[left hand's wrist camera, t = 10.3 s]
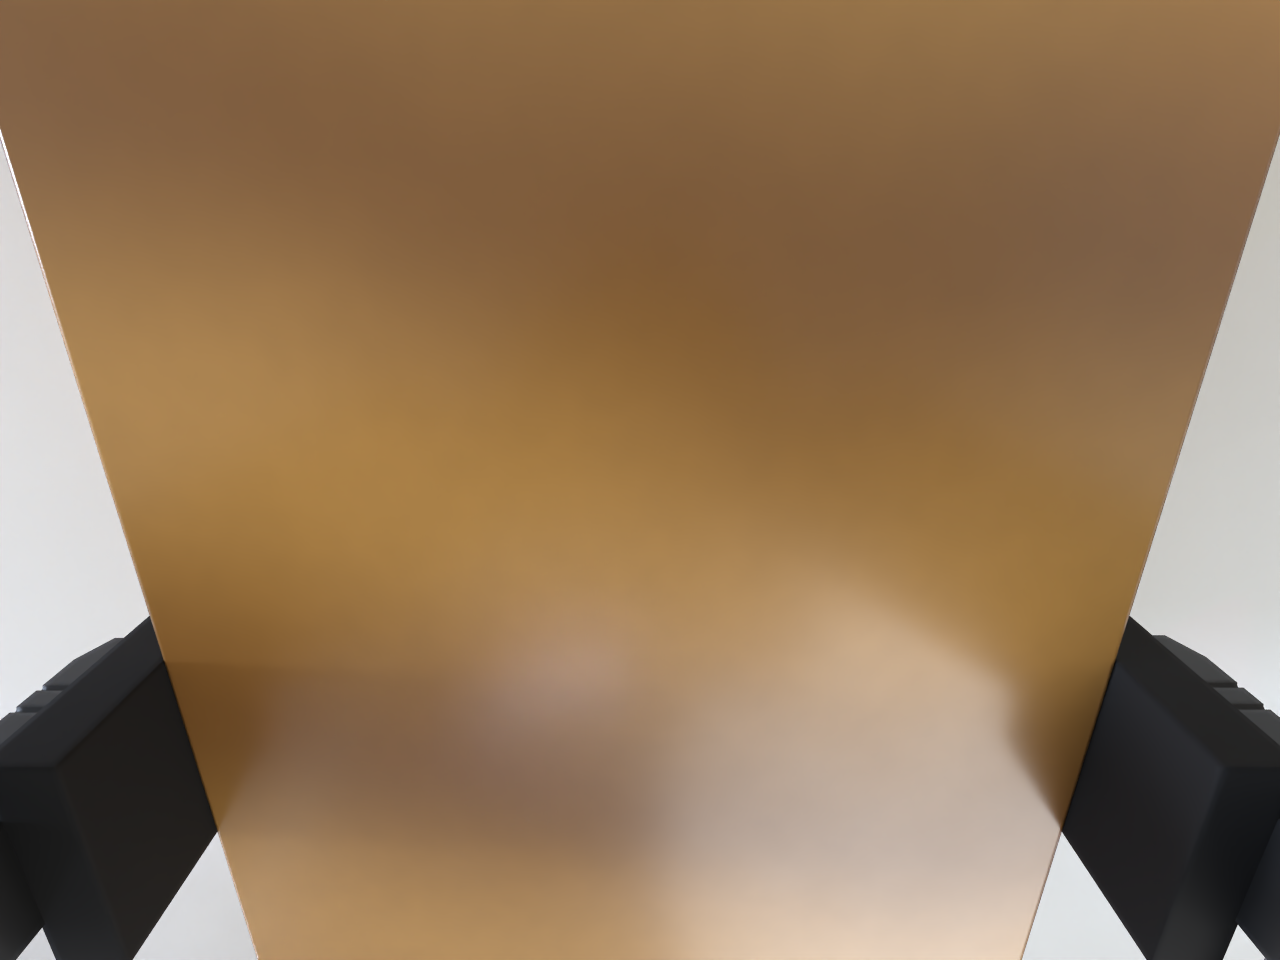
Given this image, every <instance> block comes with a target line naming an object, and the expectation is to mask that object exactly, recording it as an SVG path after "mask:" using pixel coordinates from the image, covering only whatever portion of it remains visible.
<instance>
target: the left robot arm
mask: <svg viewBox="0 0 1280 960" xmlns="http://www.w3.org/2000/svg"><path fill="white" fill-rule="evenodd" d="M1062 832H1063V834H1064V836H1065V837H1066V839H1067V840H1068V842H1069V843H1070V845H1071V846H1072V848H1073V849H1074V851H1075V852H1076V854H1077V855H1078V857H1079V858H1080V860H1081V861H1082V863H1083V864H1084V866H1085V867H1086V869H1087V870H1088V872H1089V873H1090V875H1091V876H1092V878H1093V879H1094V881H1095V882H1096V884H1097V885H1098V887H1099V888H1100V890H1101V891H1102V893H1103V894H1104V896H1105V897H1106V899H1107V901H1108V902H1109V904H1110V905H1111V907H1112V908H1113V910H1114V911H1115V913H1116V914H1117V916H1118V917H1119V919H1120V920H1121V922H1122V923H1123V925H1124V926H1125V928H1126V929H1127V931H1128V932H1129V934H1130V935H1131V937H1132V938H1133V940H1134V941H1135V943H1136V944H1137V946H1138V947H1139V949H1140V950H1141V952H1142V953H1143V955H1144V956H1145V958H1146V959H1147V960H1223V958H1224V955H1225V953H1226V951H1227V948H1228V946H1229V944H1230V941H1231V939H1232V937H1233V934H1234V932H1235V930H1236V927H1237V925H1239V926H1240V927H1241V929H1242V930H1243V931H1244V932H1245V934H1246V935H1247V936H1248V937H1249V938H1250V940H1251V941H1252V942H1253V943H1254V945H1255V946H1256V947H1257V948H1258V949H1259V951H1260V952H1261V953H1262V954H1263V956H1264V957H1265V959H1264V960H1280V717H1278V716H1277V715H1276V714H1275V713H1274V712H1272V711H1271V710H1265V709H1264V707H1263V703H1261V702H1260V701H1259V700H1258V699H1257V698H1255V697H1254V696H1253V695H1252V694H1250V693H1249V692H1248V691H1247V690H1246V689H1244V688H1238V686H1237V682H1236V681H1235V680H1233V679H1232V678H1231V677H1230V676H1228V675H1227V674H1226V673H1225V672H1224V671H1222V670H1221V669H1220V668H1219V667H1217V666H1216V665H1215V664H1214V663H1213V662H1211V661H1210V660H1209V659H1208V658H1206V657H1205V656H1203V655H1201V654H1199V653H1197V652H1195V651H1193V650H1192V649H1190V648H1188V647H1186V646H1184V645H1182V644H1180V643H1178V642H1176V641H1174V640H1173V639H1171V638H1169V637H1167V636H1165V635H1151V634H1150V633H1149V632H1148V631H1147V630H1145V629H1144V628H1143V627H1142V626H1141V625H1140V624H1138V623H1137V622H1136V621H1135V620H1134V619H1133V618H1131V617H1130V616H1129V618H1128V621H1127V624H1126V627H1125V631H1124V634H1123V637H1122V640H1121V643H1120V647H1119V650H1118V653H1117V656H1116V659H1115V663H1114V666H1113V669H1112V672H1111V675H1110V679H1109V682H1108V685H1107V688H1106V691H1105V695H1104V698H1103V701H1102V704H1101V707H1100V711H1099V714H1098V717H1097V720H1096V723H1095V727H1094V730H1093V733H1092V736H1091V739H1090V743H1089V746H1088V749H1087V752H1086V755H1085V759H1084V762H1083V765H1082V768H1081V771H1080V775H1079V778H1078V781H1077V784H1076V787H1075V791H1074V794H1073V797H1072V800H1071V803H1070V807H1069V810H1068V813H1067V816H1066V819H1065V823H1064V826H1063V829H1062ZM216 833H217V828H216V825H215V822H214V819H213V815H212V812H211V809H210V806H209V803H208V799H207V796H206V793H205V790H204V787H203V784H202V780H201V777H200V774H199V771H198V768H197V764H196V761H195V758H194V755H193V752H192V749H191V745H190V742H189V739H188V736H187V733H186V729H185V726H184V723H183V720H182V717H181V713H180V710H179V707H178V704H177V701H176V698H175V694H174V691H173V688H172V685H171V682H170V678H169V675H168V672H167V669H166V666H165V662H164V659H163V656H162V653H161V650H160V647H159V643H158V640H157V637H156V634H155V631H154V627H153V624H152V621H151V618H150V616H149V617H148V618H147V619H145V620H144V621H143V622H142V623H141V624H140V625H138V626H137V627H136V628H135V629H134V630H133V631H131V632H130V633H129V634H128V635H127V636H126V637H124V638H114V639H112V640H110V641H108V642H107V643H105V644H103V645H101V646H99V647H97V648H95V649H93V650H92V651H90V652H88V653H86V654H84V655H82V656H80V657H78V658H76V659H75V660H73V661H72V662H71V663H69V664H68V665H67V666H66V667H65V668H63V669H62V670H61V671H60V672H59V673H57V674H56V675H55V676H54V677H52V678H51V679H50V680H49V681H48V682H46V683H45V684H44V685H43V689H42V691H36V692H34V693H33V694H32V695H31V696H29V697H28V698H27V699H26V700H25V701H23V702H22V703H21V704H20V705H19V706H17V710H16V712H15V713H9V714H8V715H6V716H5V717H4V718H3V719H2V720H0V960H16V959H17V958H18V956H19V955H20V954H21V953H22V952H23V950H24V949H25V948H26V947H27V945H28V944H29V943H30V942H31V940H32V939H33V938H34V937H35V936H36V934H37V933H38V932H39V931H40V929H41V928H43V930H44V932H45V935H46V937H47V939H48V942H49V944H50V946H51V949H52V951H53V953H54V956H55V958H56V960H133V958H134V957H135V955H136V954H137V952H138V951H139V949H140V948H141V946H142V945H143V943H144V942H145V940H146V939H147V937H148V936H149V934H150V933H151V931H152V930H153V928H154V927H155V925H156V924H157V922H158V920H159V919H160V917H161V916H162V914H163V913H164V911H165V910H166V908H167V907H168V905H169V904H170V902H171V901H172V899H173V898H174V896H175V895H176V893H177V892H178V890H179V889H180V887H181V886H182V884H183V883H184V881H185V880H186V878H187V877H188V875H189V874H190V872H191V871H192V869H193V868H194V866H195V865H196V863H197V862H198V860H199V859H200V857H201V855H202V854H203V852H204V851H205V849H206V848H207V846H208V845H209V843H210V842H211V840H212V839H213V837H214V836H215V834H216Z"/></svg>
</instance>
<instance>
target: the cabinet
mask: <svg viewBox="0 0 1280 960" xmlns="http://www.w3.org/2000/svg"><path fill="white" fill-rule="evenodd" d="M1279 135H1280V0H0V140H1V143H2V146H3V149H4V153H5V156H6V159H7V162H8V165H9V169H10V172H11V175H12V178H13V181H14V185H15V188H16V191H17V194H18V197H19V200H20V204H21V207H22V210H23V213H24V216H25V220H26V223H27V226H28V229H29V232H30V236H31V239H32V242H33V245H34V248H35V251H36V255H37V258H38V261H39V264H40V267H41V271H42V274H43V277H44V280H45V283H46V286H47V290H48V293H49V296H50V299H51V302H52V306H53V309H54V312H55V315H56V318H57V322H58V325H59V328H60V331H61V334H62V337H63V341H64V344H65V347H66V350H67V353H68V357H69V360H70V363H71V366H72V369H73V373H74V376H75V379H76V382H77V385H78V388H79V392H80V395H81V398H82V401H83V404H84V408H85V411H86V414H87V417H88V420H89V424H90V427H91V430H92V433H93V436H94V439H95V443H96V446H97V449H98V452H99V455H100V459H101V462H102V465H103V468H104V471H105V474H106V478H107V481H108V484H109V487H110V490H111V494H112V497H113V500H114V503H115V506H116V510H117V513H118V516H119V519H120V522H121V525H122V529H123V532H124V535H125V538H126V541H127V545H128V548H129V551H130V554H131V557H132V561H133V564H134V567H135V570H136V573H137V576H138V580H139V583H140V586H141V589H142V592H143V596H144V599H145V602H146V605H147V608H148V611H149V615H150V618H151V621H152V624H153V627H154V631H155V634H156V637H157V640H158V643H159V647H160V650H161V653H162V656H163V659H164V662H165V666H166V669H167V672H168V675H169V678H170V682H171V685H172V688H173V691H174V694H175V698H176V701H177V704H178V707H179V710H180V713H181V717H182V720H183V723H184V726H185V729H186V733H187V736H188V739H189V742H190V745H191V749H192V752H193V755H194V758H195V761H196V764H197V768H198V771H199V774H200V777H201V780H202V784H203V787H204V790H205V793H206V796H207V799H208V803H209V806H210V809H211V812H212V815H213V819H214V822H215V825H216V828H217V831H218V835H219V838H220V841H221V844H222V847H223V850H224V854H225V857H226V860H227V863H228V866H229V870H230V873H231V876H232V879H233V882H234V886H235V889H236V892H237V895H238V898H239V901H240V905H241V908H242V911H243V914H244V917H245V921H246V924H247V927H248V930H249V933H250V936H251V940H252V943H253V946H254V949H255V952H256V956H257V959H258V960H1022V957H1023V954H1024V951H1025V947H1026V944H1027V941H1028V938H1029V935H1030V931H1031V928H1032V925H1033V922H1034V919H1035V915H1036V912H1037V909H1038V906H1039V903H1040V899H1041V896H1042V893H1043V890H1044V887H1045V883H1046V880H1047V877H1048V874H1049V871H1050V867H1051V864H1052V861H1053V858H1054V855H1055V851H1056V848H1057V845H1058V842H1059V839H1060V835H1061V832H1062V829H1063V826H1064V823H1065V819H1066V816H1067V813H1068V810H1069V807H1070V803H1071V800H1072V797H1073V794H1074V791H1075V787H1076V784H1077V781H1078V778H1079V775H1080V771H1081V768H1082V765H1083V762H1084V759H1085V755H1086V752H1087V749H1088V746H1089V743H1090V739H1091V736H1092V733H1093V730H1094V727H1095V723H1096V720H1097V717H1098V714H1099V711H1100V707H1101V704H1102V701H1103V698H1104V695H1105V691H1106V688H1107V685H1108V682H1109V679H1110V675H1111V672H1112V669H1113V666H1114V663H1115V659H1116V656H1117V653H1118V650H1119V647H1120V643H1121V640H1122V637H1123V634H1124V631H1125V627H1126V624H1127V621H1128V618H1129V615H1130V611H1131V608H1132V605H1133V602H1134V599H1135V595H1136V592H1137V589H1138V586H1139V583H1140V579H1141V576H1142V573H1143V570H1144V567H1145V563H1146V560H1147V557H1148V554H1149V551H1150V547H1151V544H1152V541H1153V538H1154V535H1155V531H1156V528H1157V525H1158V522H1159V519H1160V515H1161V512H1162V509H1163V506H1164V503H1165V499H1166V496H1167V493H1168V490H1169V487H1170V483H1171V480H1172V477H1173V474H1174V471H1175V467H1176V464H1177V461H1178V458H1179V455H1180V451H1181V448H1182V445H1183V442H1184V439H1185V436H1186V432H1187V429H1188V426H1189V423H1190V420H1191V416H1192V413H1193V410H1194V407H1195V404H1196V400H1197V397H1198V394H1199V391H1200V388H1201V384H1202V381H1203V378H1204V375H1205V372H1206V368H1207V365H1208V362H1209V359H1210V356H1211V352H1212V349H1213V346H1214V343H1215V340H1216V336H1217V333H1218V330H1219V327H1220V324H1221V320H1222V317H1223V314H1224V311H1225V308H1226V304H1227V301H1228V298H1229V295H1230V292H1231V288H1232V285H1233V282H1234V279H1235V276H1236V272H1237V269H1238V266H1239V263H1240V260H1241V256H1242V253H1243V250H1244V247H1245V244H1246V240H1247V237H1248V234H1249V231H1250V228H1251V224H1252V221H1253V218H1254V215H1255V212H1256V208H1257V205H1258V202H1259V199H1260V196H1261V192H1262V189H1263V186H1264V183H1265V180H1266V176H1267V173H1268V170H1269V167H1270V164H1271V160H1272V157H1273V154H1274V151H1275V148H1276V144H1277V141H1278V138H1279Z"/></svg>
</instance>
